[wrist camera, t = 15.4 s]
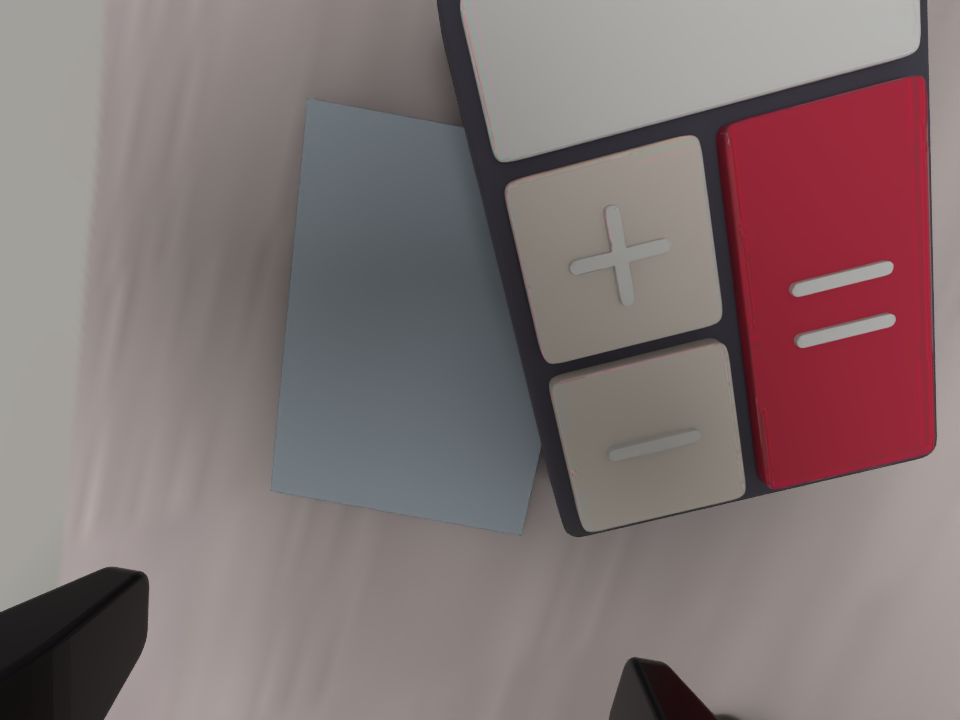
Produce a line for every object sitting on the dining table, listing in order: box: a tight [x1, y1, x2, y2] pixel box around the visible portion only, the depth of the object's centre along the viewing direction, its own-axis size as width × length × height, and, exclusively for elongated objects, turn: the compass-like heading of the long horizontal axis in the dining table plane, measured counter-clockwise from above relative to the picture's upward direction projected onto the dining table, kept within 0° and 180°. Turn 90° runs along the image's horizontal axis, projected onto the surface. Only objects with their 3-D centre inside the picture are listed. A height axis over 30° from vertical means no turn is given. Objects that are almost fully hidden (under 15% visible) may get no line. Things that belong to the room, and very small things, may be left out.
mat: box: [270, 98, 541, 536], centre depth 19 cm, size 9×13×1 cm
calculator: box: [437, 0, 937, 537], centre depth 16 cm, size 11×4×15 cm
